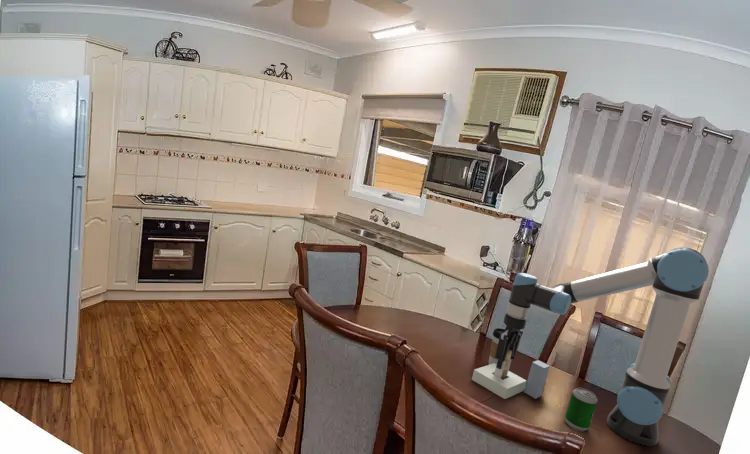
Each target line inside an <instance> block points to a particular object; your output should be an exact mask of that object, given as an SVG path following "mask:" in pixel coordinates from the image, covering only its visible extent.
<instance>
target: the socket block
mask: <svg viewBox="0 0 750 454" xmlns="http://www.w3.org/2000/svg"><path fill="white" fill-rule="evenodd" d="M496 365H497V364H495V363H492V364H489V363H488V365H487V364H486V365H485V366H482V367H478V368H475V369H473V373H472V377H471V380H472V381H473V382H475V383H476V384H478V385H480V386H482V387H483V388H486V389H487V390H488V391H490V392H492V393H493V394H496V395H497V396H499V397H500V398H502V399H504V400H506V399H509V398H511V397H513V396H515V395H518V394H520V393H521V392H524V391H525V387H526V383H527V380H528V379H527V380H526V379H524V378H523V377H521V376H519V375H517V374H516V373H513V372H512V371H510V370H509V371H508V374H507V376H505V379H504V380H502V379H501V378H499V377H497V376H495V375H494V372H495V368H496Z"/></svg>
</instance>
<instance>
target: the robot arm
mask: <svg viewBox="0 0 750 454" xmlns="http://www.w3.org/2000/svg"><path fill="white" fill-rule="evenodd" d="M709 271H710V270H709V265H708V262H707V260H706V258H705V257H704V255H702V253H700V252H699V251H697V250H696V249H693V248H690V247H677V248H673V249H670V250H668V251H667V252H665V253H662V254H660V255H656V256H653V257H650V258H649V260H648V261H646V262H643V263H638V264H635V265H632V266H627V267H623V268H619V269H614V270H611V271H607V272H604V273H601V274H595V275H592V276H588V277H587V276H586V277H584V278H579V279H577V280H573V281H569V282H566V283H565V282H564V283H558V284H555V285H554V286H552V287H549V286H545V285H542V284H539V283H538V278H537V276H534V275H532V274H529V273H525V272H518V273H516V275H515V277H514V280H513V283H512V287H511V291H510V295H509V296H510V297H509V299H508V302H507V304H506V305H507V306H506V307H507V308H506V313H505V314H504V318H503V324H504V325H505V328H504V329H505V330H504V333H503V334H502V333H500V334H499V342H498V346H497V351H496V355H495V358H497V359H498V361H497V365H496V368H495V372H494V375H495V376H497V377H499V378H501V377H502V373H503V370H504V366H505V362H506V361H504V360H505V358H506V355H507V352H508V349H510V350H512V354H511V357H510V361H509V365H508V369H507V372H506V376H507V374H508V371H510V367H511V363H512V360H515V358H516V357H515V356H516V355H517V352H518V349H519V346H520V343H521V338H522V336H523V333H524V329H525V327H526V323H527V318H528V317H529V313H530V309H531V305H533V306H536V307H539V308H540V309H544V310H546V311H549V312H552V313H554V314H558V315H562V316H564V315H566V314H567V312H568V311H569V309H570V307H571V304H572V305H573V304H575V303H579V302H584V301H588V300H592V299H597V298H602V297H606V296H610V295H614V294H619V293H623V292H628V291H632V290H637V289H641V288H646V287H650V286H652V289H653V290H654V292H655V297H654V300H653V304H652V307H651V311H650V313H649V317H648V321H647V324H646V326H645V330H644V333H643V336H642V339H641V343H640V344H639V345H640V346H639V348H638V351H637V356H636V359H635V363H634V362H633V363H631V364H630V366H629V368H627V369H626V371H625V375H624V377H623V381H622V384H621V387H620V390H619V391H618V392H617V396H616V403H617V404H616V405H615V407H614V408H612V410H610V412H609V414H608V415H607V417H606V424H607V426H608V427H609V428H610V429H611V430H612V431H613V432H614V433H616V434H617V435H619V436H620V437H621V438H623V439H625V438H626V440H627V439H629V440H631V441H630V442H632V441H633V442H632V443H634V442H636V443H635V444H637V443H639V444H638V445H640V444H642V445H641V446H644V445H646V446H645V447H654V446H653V445H655V446H657V444H658V441H659V439H660V438H659V437H660V435H659V434H660V433H659V421H660V419H662V416H663V415H664V407H665V405H666V402H667V398H668V395H669V391H670V388H671V385H670V384H671V378H670V376H669V375H668V374H669V371H670V368H671V365H672V362H673V359H674V355H675V353H676V350H677V346H678V344H679V340H680V337H681V335H682V331H683V328H684V325H685V322H686V318H687V315H688V312H689V309H690V306H691V304H692V303H695V302H698V301H699V300H700V296H701V293H702V290H703V287H704V285H705V282H706V281H707V280H708V277H709V273H710V272H709ZM629 440H628V441H629Z"/></svg>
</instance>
